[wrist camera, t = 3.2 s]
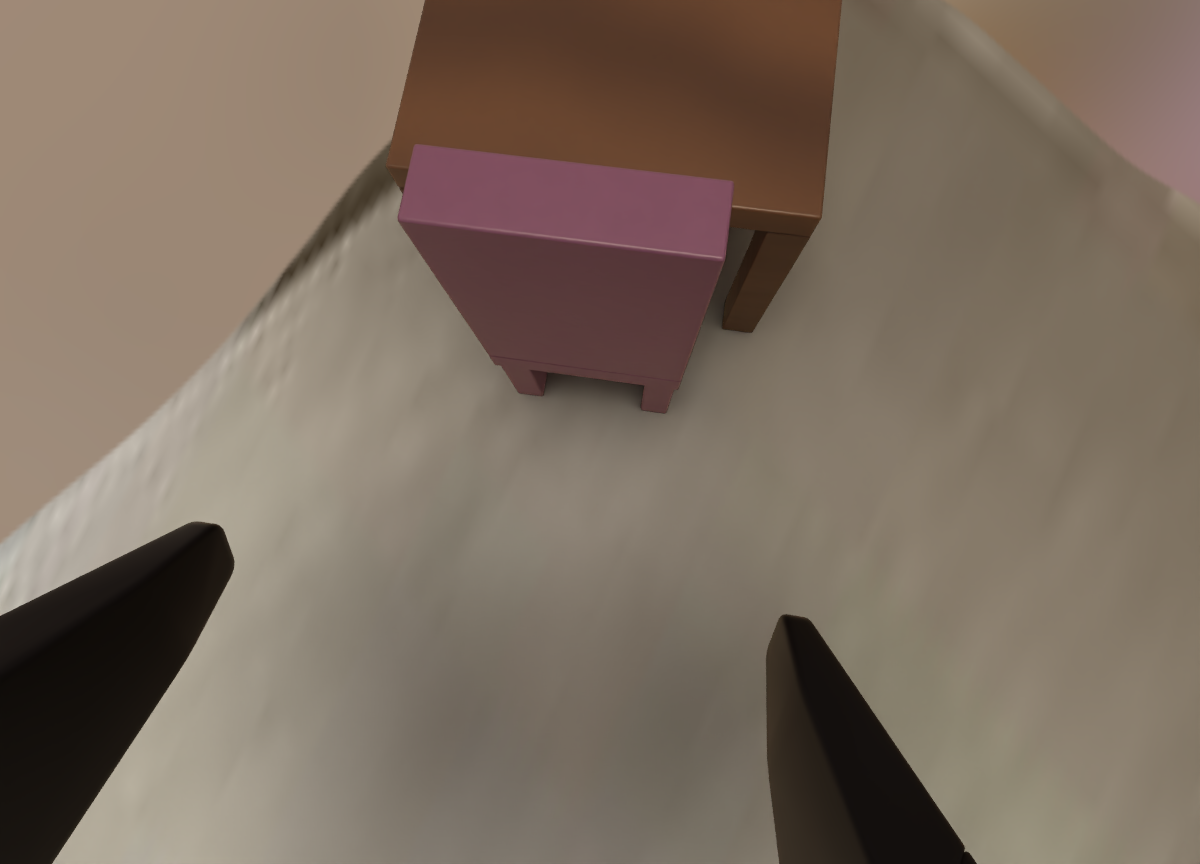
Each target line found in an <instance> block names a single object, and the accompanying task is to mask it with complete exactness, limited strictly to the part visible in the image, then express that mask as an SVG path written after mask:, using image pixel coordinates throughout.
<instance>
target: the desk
mask: <svg viewBox="0 0 1200 864" xmlns="http://www.w3.org/2000/svg"><path fill="white" fill-rule="evenodd" d="M841 5H842V0H425V3H424V7H423V11H422V15H421V20H420V24H419V28H418V33H417V36H416V41H415V45H414V49H413V53H412V58H411V62H410V66H409V70H408V74H407V79H406V83H405V87H404V91H403V96H402V100H401V104H400V108H399V112H398V117H397V121H396V125H395V129H394V133H393V138H392V142H391V146H390V150H389V154H388V159H387V163H386V168H387V169H388V171H389V173H390V174H391V176H392V177H393V179H394V181H395V182H396V184H397V186H399V187H400V190H401V192H402V193H403V192H404V187H405V183H406V179H407V174H408V170H409V165H410V161H411V157H412V152H413V148H414V146H415V145H416V144H421V145H429V146H438V147H446V148H455V149H463V150H472V151H481V152H489V153H498V154H506V155H515V156H523V157H532V158H540V159H549V160H558V161H566V162H575V163H583V164H592V165H600V166H609V167H617V168H626V169H635V170H643V171H652V172H660V173H669V174H677V175H686V176H694V177H703V178H712V179H720V180H729V181H733V182H734V193H733V202H732V210H731V218H730V226H729V227H733V228H742V229H750V230H755V232H754V235H753V237H752V240H751V242H750V244H749V247H748V249H747V251H746V254H745V256H744V258H743V261H742V263H741V265H740V268H739V270H738V273H737V275H736V277H735V280H734V282H733V284H732V287H731V289H730V291H729V294H728V296H727V298H726V301H725V308H724V316H723V324H722V328H723V329H728V330H736V331H744V332H753V330H754V329H755V327H756V325H757V324H758V322H759V320H760V319H761V317H762V315H763V314H764V312H765V311H766V309H767V307H768V306H769V304H770V302H771V301H772V299H773V297H774V296H775V294H776V293H777V291H778V289H779V288H780V286H781V284H782V283H783V281H784V279H785V278H786V276H787V275H788V273H789V271H790V270H791V268H792V266H793V265H794V263H795V261H796V260H797V258H798V256H799V255H800V253H801V252H802V250H803V248H804V247H805V245H806V243H807V242H808V240H809V238H810V236H811V234H812V233H813V231H814V229H815V228H816V226H817V224H818V223H819V221H820V219H821V218H822V208H823V198H824V187H825V176H826V165H827V155H828V144H829V133H830V123H831V112H832V101H833V90H834V80H835V69H836V58H837V47H838V37H839V26H840V15H841Z"/></svg>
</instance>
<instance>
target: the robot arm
mask: <svg viewBox="0 0 1200 864" xmlns="http://www.w3.org/2000/svg"><path fill="white" fill-rule="evenodd" d="M233 570H234V557H233V554H232V552H231V549H230V546H229V543H228V541H227V538H226V535H225V532H224V530H223V529H222V527H220V526H219V525H217V524H211V523H205V522H191V523H188V524H186V525H184V526H182V527H180V528H178V529H176V530H174V531H172V532H170V533H168V534H166V535H164V536H162V537H160V538H158V539H156V540H154V541H151V542H149V543H147V544H145V545H143V546H141V547H139V548H137V549H135V550H133V551H131V552H129V553H127V554H125V555H123V556H121V557H119V558H117V559H115V560H113V561H111V562H109V563H107V564H105V565H103V566H101V567H99V568H97V569H95V570H93V571H91V572H89V573H87V574H85V575H82V576H80V577H78V578H76V579H74V580H72V581H70V582H68V583H66V584H64V585H62V586H60V587H58V588H56V589H54V590H52V591H50V592H48V593H46V594H44V595H42V596H40V597H38V598H36V599H34V600H32V601H30V602H28V603H26V604H24V605H22V606H20V607H18V608H15V609H13V610H11V611H9V612H7V613H5V614H3V615H1V616H0V864H52V863H53V861H54V860H55V858H56V857H57V855H58V854H59V852H60V851H61V849H62V848H63V846H64V845H65V843H66V842H67V840H68V839H69V837H70V836H71V834H72V833H73V831H74V830H75V828H76V827H77V825H78V824H79V822H80V821H81V819H82V818H83V816H84V814H85V813H86V811H87V810H88V808H89V807H90V805H91V804H92V802H93V801H94V799H95V798H96V796H97V795H98V793H99V792H100V790H101V789H102V787H103V786H104V784H105V783H106V781H107V780H108V778H109V777H110V775H111V774H112V772H113V771H114V769H115V768H116V766H117V765H118V763H119V762H120V760H121V759H122V757H123V756H124V754H125V752H126V751H127V749H128V748H129V746H130V745H131V743H132V742H133V740H134V739H135V737H136V736H137V734H138V733H139V731H140V730H141V728H142V727H143V725H144V724H145V722H146V721H147V719H148V718H149V716H150V715H151V713H152V712H153V710H154V709H155V707H156V706H157V704H158V703H159V701H160V700H161V698H162V697H163V695H164V693H165V692H166V690H167V689H168V687H169V686H170V684H171V683H172V681H173V680H174V678H175V677H176V675H177V674H178V672H179V671H180V669H181V667H182V666H183V664H184V663H185V661H186V659H187V658H188V656H189V654H190V652H191V651H192V649H193V647H194V645H195V644H196V642H197V640H198V638H199V636H200V634H201V632H202V630H203V628H204V627H205V625H206V623H207V621H208V619H209V617H210V615H211V613H212V611H213V609H214V608H215V606H216V604H217V602H218V600H219V598H220V596H221V594H222V592H223V590H224V589H225V587H226V585H227V583H228V581H229V579H230V577H231V575H232V573H233ZM766 712H767V762H768V773H769V782H770V790H771V799H772V807H773V815H774V824H775V832H776V840H777V849H778V857H779V864H977V863H976V862H975V860H974V859H973V857H972V856H971V855H970V853H968V852H964V850H965V847H964V845H963V843H962V842H961V840H960V839H959V837H958V836H957V834H956V833H955V831H954V830H953V829H952V827H951V826H950V824H949V823H948V821H947V820H946V818H945V817H944V815H943V814H942V812H941V811H940V809H939V808H938V807H937V805H936V804H935V802H934V801H933V799H932V798H931V796H930V795H929V793H928V792H927V790H926V789H925V787H924V786H923V785H922V783H921V782H920V780H919V779H918V777H917V776H916V774H915V773H914V771H913V770H912V768H911V767H910V765H909V764H908V763H907V761H906V760H905V758H904V757H903V755H902V754H901V752H900V751H899V749H898V748H897V746H896V745H895V743H894V742H893V741H892V739H891V738H890V736H889V735H888V733H887V732H886V730H885V729H884V727H883V726H882V724H881V723H880V721H879V720H878V719H877V717H876V716H875V714H874V713H873V711H872V710H871V708H870V707H869V705H868V704H867V702H866V701H865V699H864V698H863V697H862V695H861V694H860V692H859V691H858V689H857V688H856V686H855V685H854V683H853V682H852V680H851V679H850V677H849V676H848V675H847V673H846V672H845V670H844V669H843V667H842V666H841V664H840V663H839V661H838V660H837V658H836V657H835V655H834V654H833V653H832V651H831V650H830V648H829V647H828V645H827V644H826V642H825V641H824V639H823V638H822V636H821V635H820V633H819V632H818V631H817V629H816V628H815V626H814V625H813V623H812V622H811V621H810V620H809V619H807V618H805V617H800V616H793V615H787V614H784V615H782V616H781V617H780V618H779V620H778V622H777V625H776V627H775V630H774V632H773V635H772V638H771V640H770V643H769V645H768V649H767V655H766Z"/></svg>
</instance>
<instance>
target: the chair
mask: <svg viewBox="0 0 1200 864" xmlns="http://www.w3.org/2000/svg"><path fill="white" fill-rule="evenodd" d="M733 193H734V182H733V181H729V180H720V179H712V178H703V177H694V176H686V175H677V174H669V173H660V172H652V171H643V170H635V169H626V168H617V167H609V166H600V165H592V164H583V163H575V162H566V161H558V160H549V159H540V158H532V157H523V156H515V155H506V154H498V153H489V152H481V151H472V150H463V149H455V148H446V147H438V146H429V145H421V144H416V145H415V146H414V148H413V152H412V157H411V161H410V165H409V170H408V174H407V179H406V183H405V187H404V192H403V196H402V200H401V205H400V209H399V213H398V222H399V223H400V225H401V226H402V228H403V229H404V231H405V232H406V234H407V235H408V237H409V238H410V239H411V241H412V242H413V244H414V245H415V247H416V248H417V250H418V251H419V253H420V254H421V256H422V257H423V259H424V260H425V262H426V263H427V265H428V266H429V267H430V269H431V270H432V272H433V273H434V275H435V276H436V278H437V279H438V281H439V282H440V284H441V285H442V287H443V288H444V290H445V291H446V293H447V294H448V295H449V297H450V298H451V300H452V301H453V303H454V304H455V306H456V307H457V309H458V310H459V312H460V313H461V315H462V316H463V318H464V319H465V321H466V322H467V324H468V325H469V326H470V328H471V329H472V331H473V332H474V334H475V335H476V337H477V338H478V340H479V341H480V343H481V344H482V346H483V347H484V349H485V350H486V352H487V353H488V354H489V356H490V358H491V359H492V361H493V362H494V364H495V365H500V366H502V368H503V369H504V371H505V372H506V374H507V375H508V377H509V379H510V380H511V382H512V383H513V385H514V386H515V388H516V389H517V391H518V392H519V393H523V394H530V395H537V396H543V395H544V389H545V383H546V377H547V372H551V373H558V374H565V375H573V376H580V377H587V378H594V379H602V380H609V381H616V382H624V383H631V384H638V385H644V389H643V396H642V403H641V409H642V410H645V411H652V412H659V413H666V412H667V409H668V406H669V403H670V400H671V397H672V394H673V391H674V390H678V388H679V386H680V383H681V380H682V377H683V375H684V372H685V369H686V366H687V364H688V361H689V358H690V355H691V353H692V350H693V347H694V344H695V342H696V339H697V336H698V333H699V331H700V328H701V325H702V322H703V320H704V317H705V314H706V311H707V309H708V306H709V303H710V300H711V298H712V295H713V292H714V289H715V287H716V284H717V281H718V278H719V276H720V273H721V270H722V267H723V265H724V262H725V259H726V251H727V242H728V234H729V226H730V218H731V210H732V202H733Z"/></svg>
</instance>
